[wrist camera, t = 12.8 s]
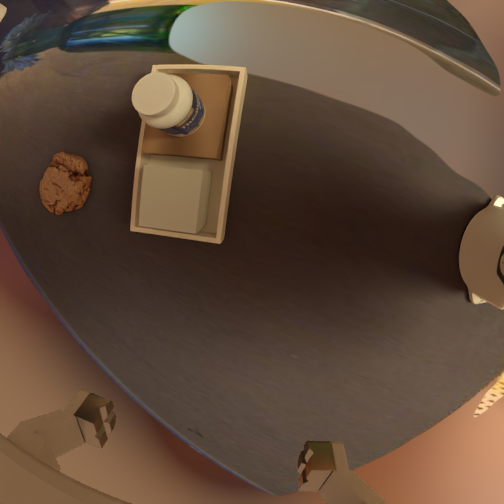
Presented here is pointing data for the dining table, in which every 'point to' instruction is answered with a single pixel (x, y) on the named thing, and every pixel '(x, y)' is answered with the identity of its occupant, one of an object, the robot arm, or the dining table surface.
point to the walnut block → (212, 129)
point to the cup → (2, 11)
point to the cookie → (65, 183)
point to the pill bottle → (168, 104)
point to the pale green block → (174, 198)
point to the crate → (198, 160)
